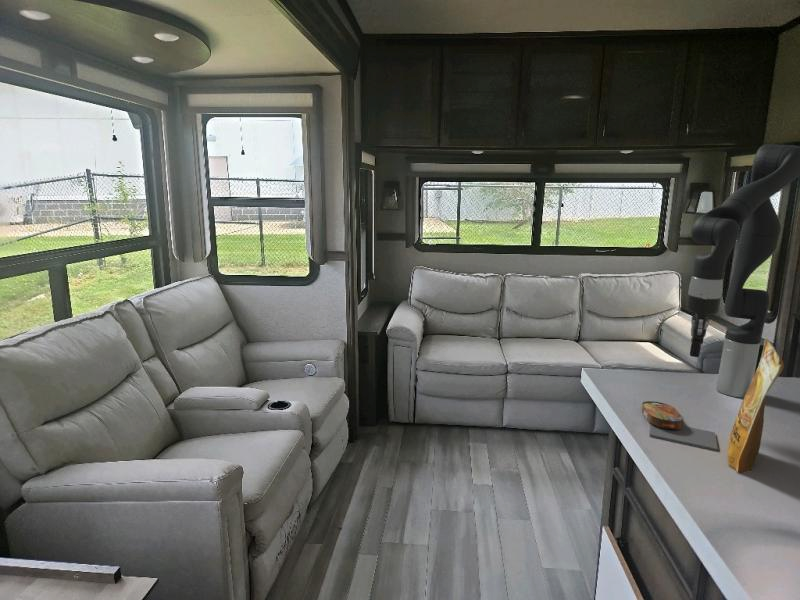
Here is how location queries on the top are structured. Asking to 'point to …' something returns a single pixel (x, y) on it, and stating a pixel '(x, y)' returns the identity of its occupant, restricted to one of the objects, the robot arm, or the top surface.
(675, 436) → the mat
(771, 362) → the pancake mix bag
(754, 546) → the top surface
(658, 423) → the tin
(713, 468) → the top surface
